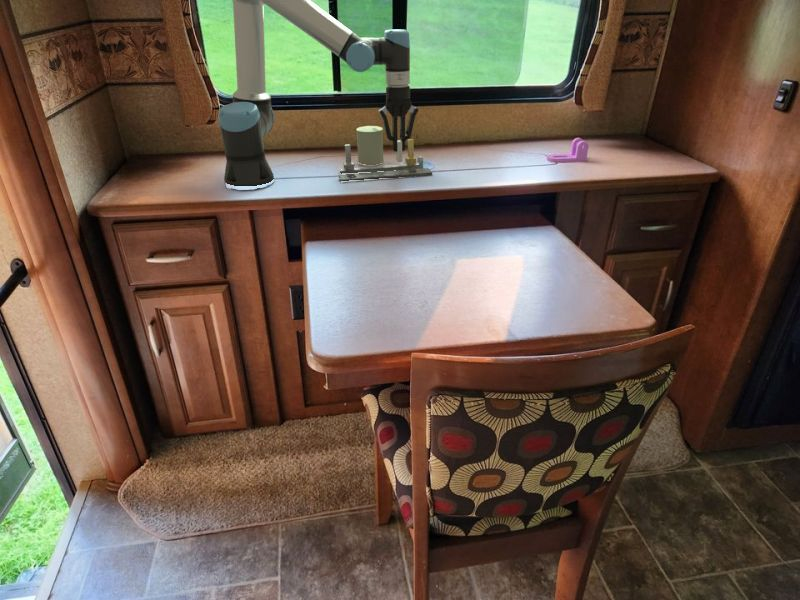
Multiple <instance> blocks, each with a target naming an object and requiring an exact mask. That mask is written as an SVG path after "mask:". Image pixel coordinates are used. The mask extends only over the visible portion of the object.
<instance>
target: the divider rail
mask: <svg viewBox="0 0 800 600" xmlns="http://www.w3.org/2000/svg"><path fill="white" fill-rule="evenodd" d="M344 153H345V162H343V168H339V174H340V173H341V174H342V173H358V172H377V171H394V170H409V169H421V168H424V157H423V156H422V155H417V157H416V165H407V164H406V163H400V164H399V163H398V164H388V165H376V166H364V167H363V166H362V167H360V166H359V167H355V164H354V161H352V150H351V144H350V143H348V144H347V143H346V144H345V143H344Z"/></svg>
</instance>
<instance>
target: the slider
mask: <svg viewBox="0 0 800 600" xmlns="http://www.w3.org/2000/svg"><path fill="white" fill-rule="evenodd" d="M414 143H415V142H414V138H410V139H407V156H405V157H404V158H405V159H404V162H405V163H404V164H407V165H416V163H417V157H415V156H414V150H415V149H414V147H415V145H414Z"/></svg>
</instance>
